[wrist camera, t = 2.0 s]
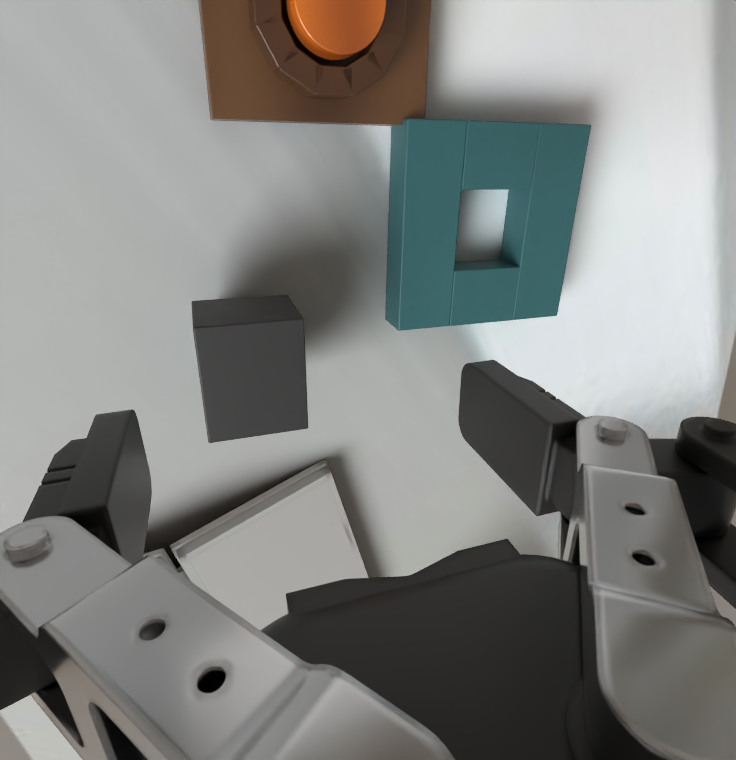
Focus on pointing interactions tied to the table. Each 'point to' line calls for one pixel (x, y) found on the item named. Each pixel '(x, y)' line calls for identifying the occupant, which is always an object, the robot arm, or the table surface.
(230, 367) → the black block
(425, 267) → the teal square frame
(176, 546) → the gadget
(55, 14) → the table surface
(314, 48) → the power button
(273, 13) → the switch box
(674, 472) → the robot arm
